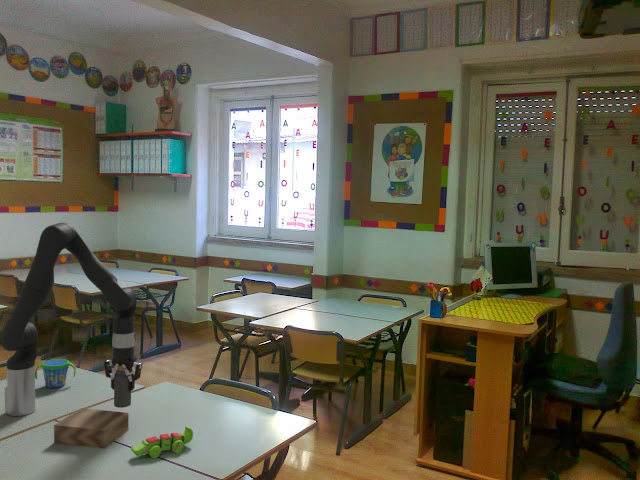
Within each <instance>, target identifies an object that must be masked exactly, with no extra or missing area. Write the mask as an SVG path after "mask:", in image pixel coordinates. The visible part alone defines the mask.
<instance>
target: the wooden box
mask: <svg viewBox="0 0 640 480" xmlns="http://www.w3.org/2000/svg"><path fill="white" fill-rule="evenodd" d="M128 431H129V412H125V411H124V412H123V411H115V410H106V409H105V410H104V409H94V408H83V407H81V408H79V409H77V410H76V411H75V412H73V413H71V414H70V415H68V416H67V417H65V418H63V419H61V420H59V421H58V422H57V423H54V425H53V443H55V444H60V445H61V444H63V445H71V446H79V447H88V448H98V449H106V448H107V447H108V446H109V445H111V444H112V443H114V442H115V441H116V440H117V439H118V438H120V437H121V436H122V435H123V434H125V433H126V432H128Z"/></svg>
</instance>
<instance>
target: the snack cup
mask: <svg viewBox="0 0 640 480" xmlns="http://www.w3.org/2000/svg"><path fill="white" fill-rule="evenodd" d="M69 366H71V367H72V369H73V370H74V371H73V378H75V376H76V373H77V372H76V371H77V369H76V366H75V364H74V363H72V361H69V360H68V359H64V358H53V359H48V360H45V361H43V362H42V363H40V364H39V365H38V366H36V367H35V380H38V369H39V368H40V367H41V368H42V370H43V378H44V383H45V384H44V385H45V386H46V388H49V389H53V388H54V389H56V388H61V387H63V386H65V385H66V381H67V374H68V370H69V368H70V367H69Z"/></svg>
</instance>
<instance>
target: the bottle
mask: <svg viewBox="0 0 640 480" xmlns="http://www.w3.org/2000/svg"><path fill="white" fill-rule="evenodd" d="M129 372H130V371H129ZM116 373H117V375H116V376H115V377H114V390H113V405H114V407H115V408H119V409H121V408H122V409H123V408H127V407H130V406H131V405H132V391H131V392H130V391H129V379H128V376H126V374H125V371H124V369H123V366H122V365H119V366H117V370H116Z"/></svg>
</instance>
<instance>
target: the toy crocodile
mask: <svg viewBox="0 0 640 480" xmlns="http://www.w3.org/2000/svg"><path fill="white" fill-rule="evenodd" d="M193 438H194V432H193V430H192V428H190V427H189V426H185V429H184V431H183V432H180V433H178V432H171V433H170V434H169V433H161V434H159V438H158V437H157V436H151V437H147V438H146V439H143V440H142V442H140V443H138V444H136V445H134V446H132V447H131V448H130V450H131V451H132V453H133V454H134V455H135V456H136V457H140V456H145V455H149V457H151V458H153V459H155V458H158V457H159V456H160V455H161V453H162V451H168V450H169V451H170V450H172V451H173V452H174V453H176V454H178V453H181V452H183V450H184V449H185V445H187V444H189V443H191V441H192V440H193Z"/></svg>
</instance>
